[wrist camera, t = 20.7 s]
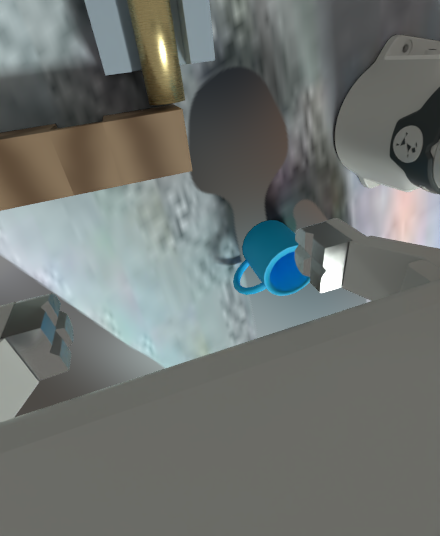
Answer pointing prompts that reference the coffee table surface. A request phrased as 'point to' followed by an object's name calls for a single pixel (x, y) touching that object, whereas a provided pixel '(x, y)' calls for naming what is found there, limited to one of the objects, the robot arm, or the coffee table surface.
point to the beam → (91, 155)
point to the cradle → (123, 40)
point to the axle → (157, 50)
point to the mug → (271, 260)
